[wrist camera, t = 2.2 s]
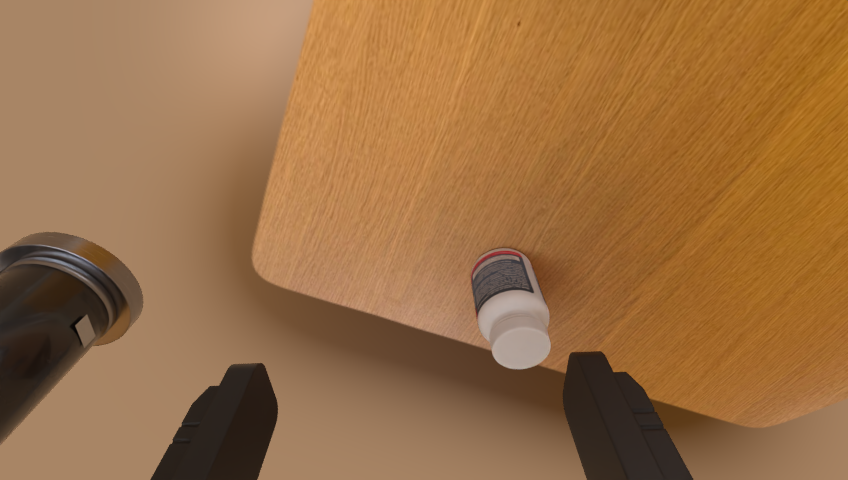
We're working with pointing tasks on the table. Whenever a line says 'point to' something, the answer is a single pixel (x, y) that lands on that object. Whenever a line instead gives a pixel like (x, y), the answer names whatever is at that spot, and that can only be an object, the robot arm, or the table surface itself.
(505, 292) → the pill bottle
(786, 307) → the table surface
